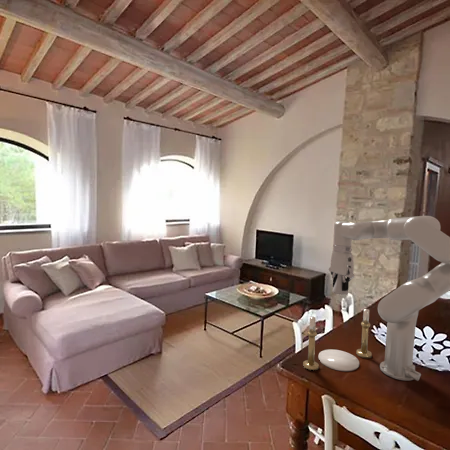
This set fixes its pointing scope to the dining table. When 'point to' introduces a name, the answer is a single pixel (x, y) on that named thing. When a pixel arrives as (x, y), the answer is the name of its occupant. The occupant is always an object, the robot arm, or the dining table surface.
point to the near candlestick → (311, 347)
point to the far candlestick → (364, 336)
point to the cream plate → (338, 360)
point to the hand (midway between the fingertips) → (340, 288)
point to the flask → (339, 286)
